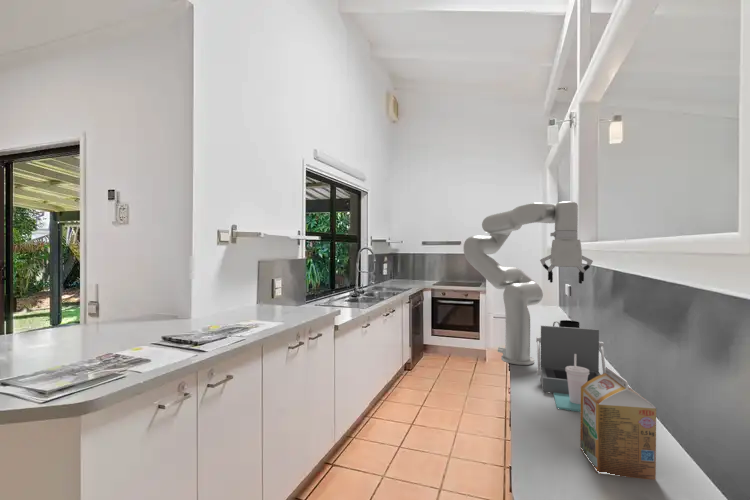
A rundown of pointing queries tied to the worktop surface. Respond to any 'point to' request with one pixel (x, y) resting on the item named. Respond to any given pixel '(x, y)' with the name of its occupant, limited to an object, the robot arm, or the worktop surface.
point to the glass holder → (568, 323)
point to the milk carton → (618, 427)
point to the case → (567, 355)
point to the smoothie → (576, 381)
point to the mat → (566, 402)
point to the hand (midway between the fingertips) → (565, 282)
